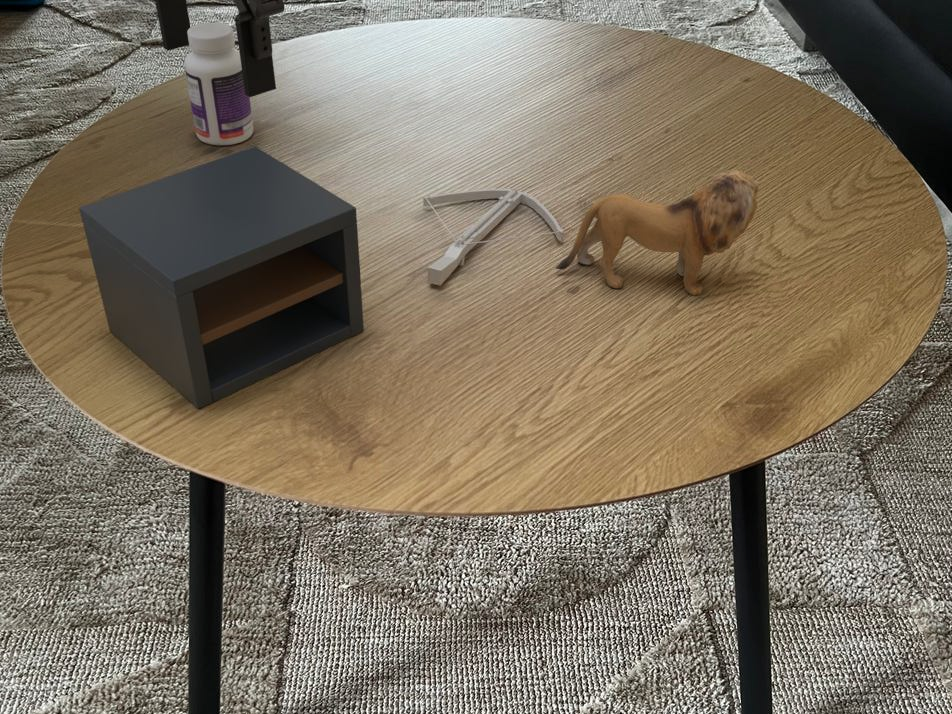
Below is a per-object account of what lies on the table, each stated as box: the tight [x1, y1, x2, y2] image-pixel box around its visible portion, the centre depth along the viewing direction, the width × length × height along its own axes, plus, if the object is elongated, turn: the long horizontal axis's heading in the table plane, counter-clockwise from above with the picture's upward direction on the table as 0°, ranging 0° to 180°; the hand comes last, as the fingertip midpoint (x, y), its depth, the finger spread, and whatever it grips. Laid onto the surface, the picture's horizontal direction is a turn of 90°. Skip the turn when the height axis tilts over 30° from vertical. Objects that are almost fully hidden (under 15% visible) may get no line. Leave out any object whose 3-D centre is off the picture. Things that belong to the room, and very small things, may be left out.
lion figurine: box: [555, 169, 760, 296], centre depth 83 cm, size 15×5×9 cm, turn 89°
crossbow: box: [422, 188, 565, 286], centre depth 89 cm, size 16×13×2 cm
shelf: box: [78, 146, 365, 410], centre depth 77 cm, size 12×14×10 cm
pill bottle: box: [183, 21, 255, 146], centre depth 100 cm, size 5×5×10 cm
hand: (218, 68), depth 99 cm, fingers open, 13 cm apart
